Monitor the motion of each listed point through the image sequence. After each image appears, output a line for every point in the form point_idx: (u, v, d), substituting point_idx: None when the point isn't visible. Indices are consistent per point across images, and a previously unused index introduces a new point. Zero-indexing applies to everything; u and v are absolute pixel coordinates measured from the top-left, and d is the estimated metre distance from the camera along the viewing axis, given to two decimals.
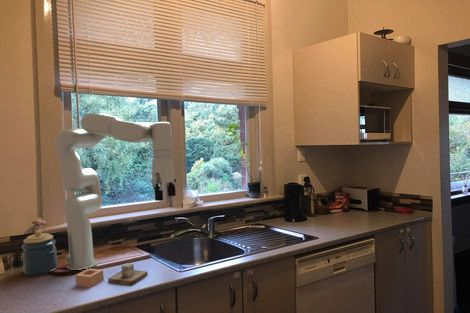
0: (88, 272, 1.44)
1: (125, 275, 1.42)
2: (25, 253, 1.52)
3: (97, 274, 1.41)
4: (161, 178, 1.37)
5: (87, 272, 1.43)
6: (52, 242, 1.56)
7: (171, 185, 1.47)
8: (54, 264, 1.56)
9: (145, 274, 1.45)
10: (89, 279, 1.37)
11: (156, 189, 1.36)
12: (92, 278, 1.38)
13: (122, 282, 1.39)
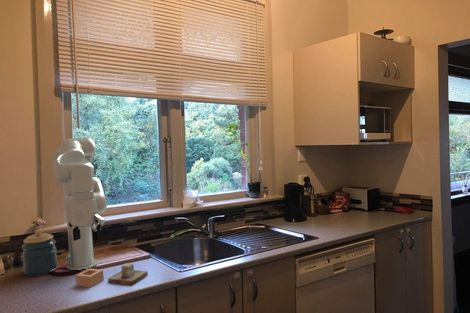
0: (88, 272, 1.44)
1: (125, 275, 1.42)
2: (25, 253, 1.52)
3: (97, 274, 1.41)
4: None
5: (87, 272, 1.43)
6: (52, 242, 1.56)
7: (77, 228, 1.42)
8: (54, 264, 1.56)
9: (145, 274, 1.45)
10: (89, 279, 1.37)
11: (99, 229, 1.38)
12: (92, 278, 1.38)
13: (122, 282, 1.39)
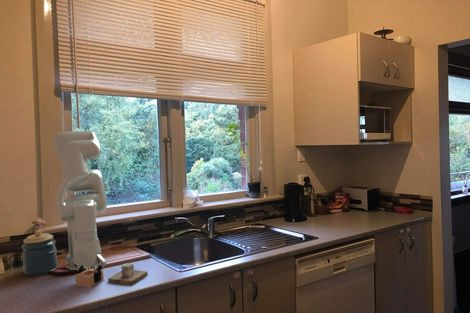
0: (88, 272, 1.44)
1: (125, 275, 1.42)
2: (25, 253, 1.52)
3: None
4: None
5: (87, 272, 1.43)
6: (52, 242, 1.56)
7: (82, 268, 1.43)
8: (54, 264, 1.56)
9: (145, 274, 1.45)
10: (89, 279, 1.37)
11: (99, 270, 1.39)
12: (92, 278, 1.38)
13: (122, 282, 1.39)
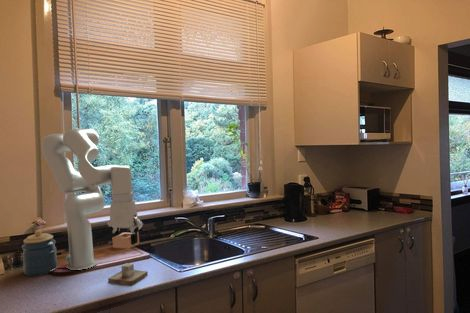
0: (124, 235, 1.45)
1: (125, 275, 1.42)
2: (25, 253, 1.52)
3: None
4: None
5: (123, 235, 1.44)
6: (52, 242, 1.56)
7: (118, 231, 1.44)
8: (54, 264, 1.56)
9: (145, 274, 1.45)
10: (126, 240, 1.38)
11: (136, 232, 1.40)
12: (129, 239, 1.39)
13: (122, 282, 1.39)
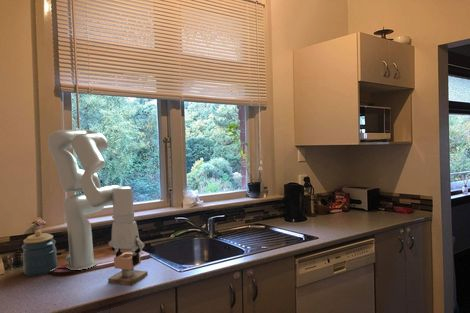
0: (125, 256, 1.45)
1: (125, 275, 1.42)
2: (25, 253, 1.52)
3: None
4: None
5: (124, 256, 1.45)
6: (52, 242, 1.56)
7: (119, 251, 1.44)
8: (54, 264, 1.56)
9: (145, 274, 1.45)
10: (128, 261, 1.39)
11: (138, 253, 1.41)
12: (130, 260, 1.39)
13: (122, 282, 1.39)
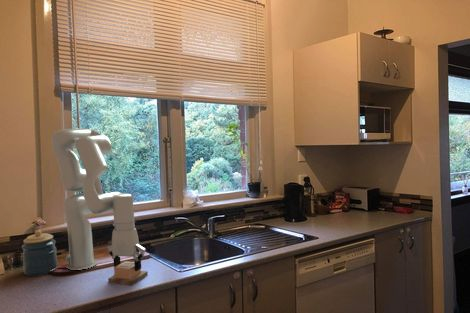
0: None
1: None
2: (25, 253, 1.52)
3: None
4: None
5: None
6: (52, 242, 1.56)
7: (117, 257, 1.45)
8: (54, 264, 1.56)
9: (145, 274, 1.45)
10: (128, 271, 1.39)
11: (140, 259, 1.41)
12: (131, 270, 1.40)
13: (122, 282, 1.39)
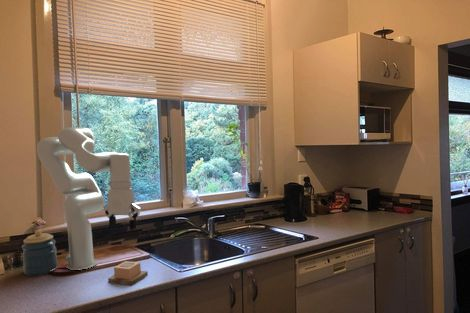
0: None
1: None
2: (25, 253, 1.52)
3: (135, 266, 1.42)
4: None
5: None
6: (52, 242, 1.56)
7: (113, 216, 1.46)
8: (54, 264, 1.56)
9: (145, 274, 1.45)
10: (128, 271, 1.39)
11: (135, 218, 1.42)
12: (131, 270, 1.40)
13: (122, 282, 1.39)
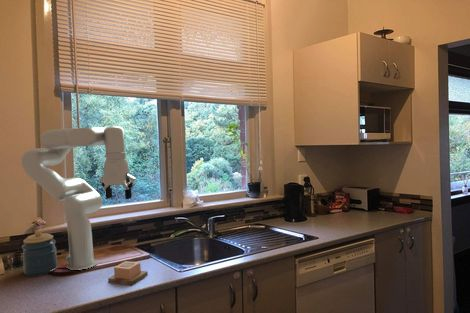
0: None
1: None
2: (25, 253, 1.52)
3: (135, 266, 1.42)
4: None
5: None
6: (52, 242, 1.56)
7: (109, 188, 1.53)
8: (54, 264, 1.56)
9: (145, 274, 1.45)
10: (128, 271, 1.39)
11: (130, 187, 1.48)
12: (131, 270, 1.40)
13: (122, 282, 1.39)
